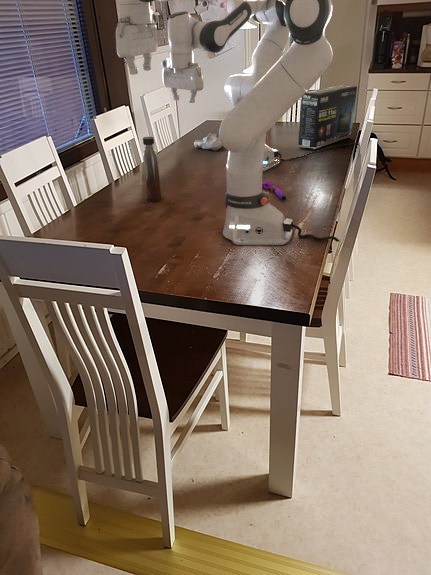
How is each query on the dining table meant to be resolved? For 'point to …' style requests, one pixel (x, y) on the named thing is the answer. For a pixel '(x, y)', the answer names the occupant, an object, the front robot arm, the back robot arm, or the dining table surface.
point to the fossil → (209, 142)
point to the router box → (326, 115)
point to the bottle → (152, 173)
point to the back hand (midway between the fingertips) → (184, 101)
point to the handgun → (273, 189)
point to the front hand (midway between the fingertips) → (140, 72)
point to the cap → (148, 141)
